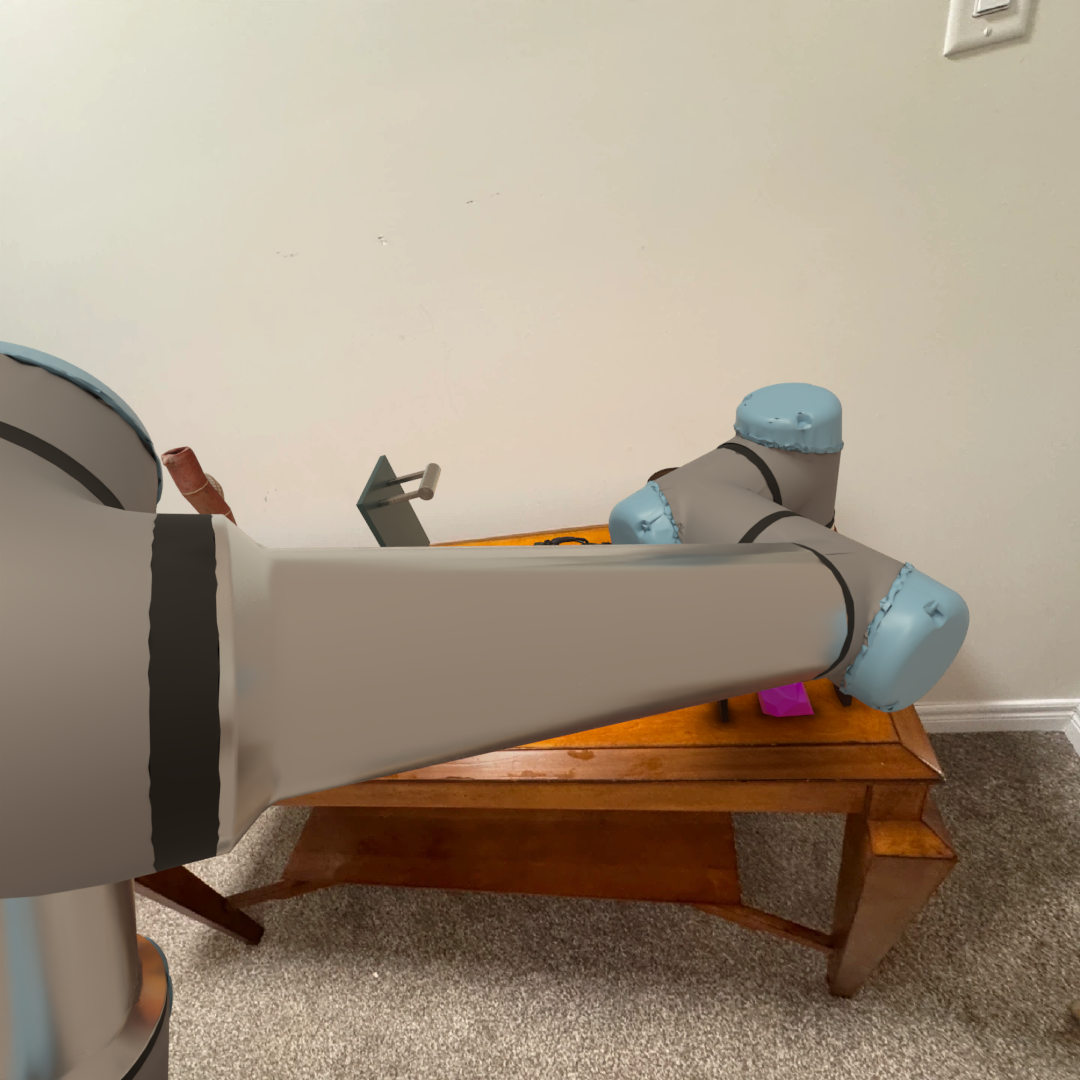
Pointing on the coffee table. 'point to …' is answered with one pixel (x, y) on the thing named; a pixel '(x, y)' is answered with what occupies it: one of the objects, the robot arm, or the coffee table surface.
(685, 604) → the robot arm
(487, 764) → the coffee table surface
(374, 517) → the bin lid
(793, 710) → the crystal
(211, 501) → the vase
